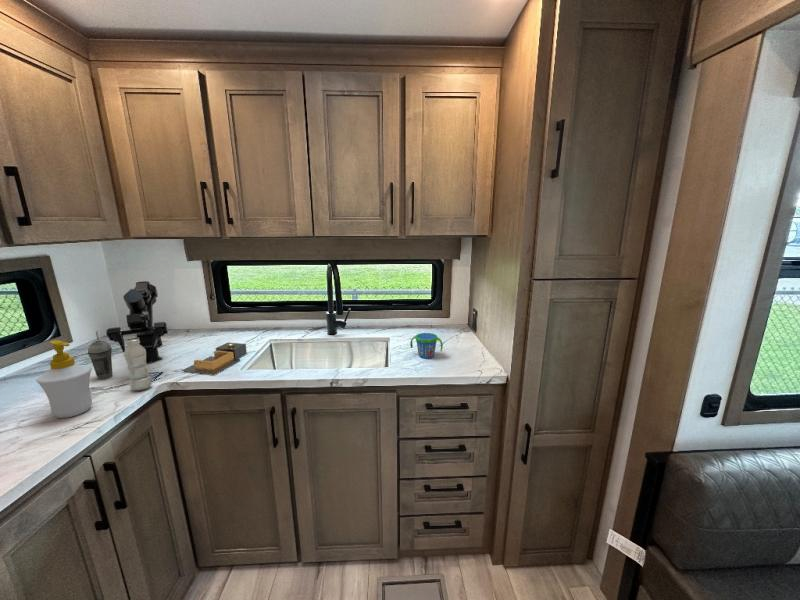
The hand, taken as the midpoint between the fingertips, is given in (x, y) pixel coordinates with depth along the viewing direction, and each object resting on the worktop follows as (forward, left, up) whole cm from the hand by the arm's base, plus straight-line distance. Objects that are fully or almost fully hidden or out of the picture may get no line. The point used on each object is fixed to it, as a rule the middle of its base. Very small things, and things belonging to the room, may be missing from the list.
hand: (138, 349), depth 128 cm
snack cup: (+78, +89, -14) cm, 119 cm away
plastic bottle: (+7, -3, -14) cm, 15 cm away
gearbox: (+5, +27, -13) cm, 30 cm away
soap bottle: (+8, -22, -14) cm, 27 cm away
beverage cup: (-17, -8, -14) cm, 23 cm away
